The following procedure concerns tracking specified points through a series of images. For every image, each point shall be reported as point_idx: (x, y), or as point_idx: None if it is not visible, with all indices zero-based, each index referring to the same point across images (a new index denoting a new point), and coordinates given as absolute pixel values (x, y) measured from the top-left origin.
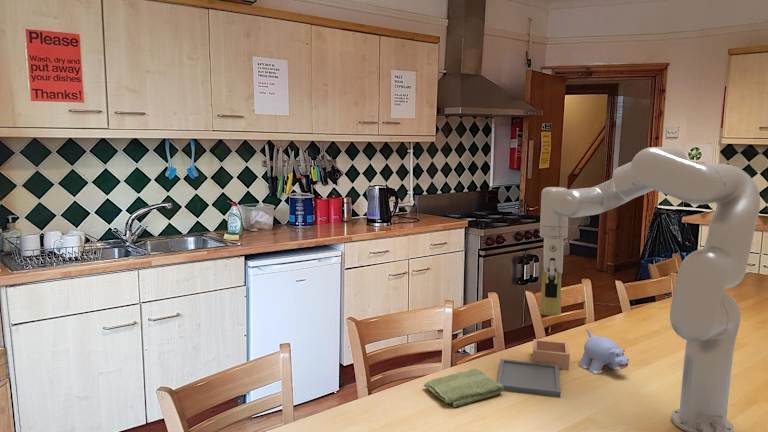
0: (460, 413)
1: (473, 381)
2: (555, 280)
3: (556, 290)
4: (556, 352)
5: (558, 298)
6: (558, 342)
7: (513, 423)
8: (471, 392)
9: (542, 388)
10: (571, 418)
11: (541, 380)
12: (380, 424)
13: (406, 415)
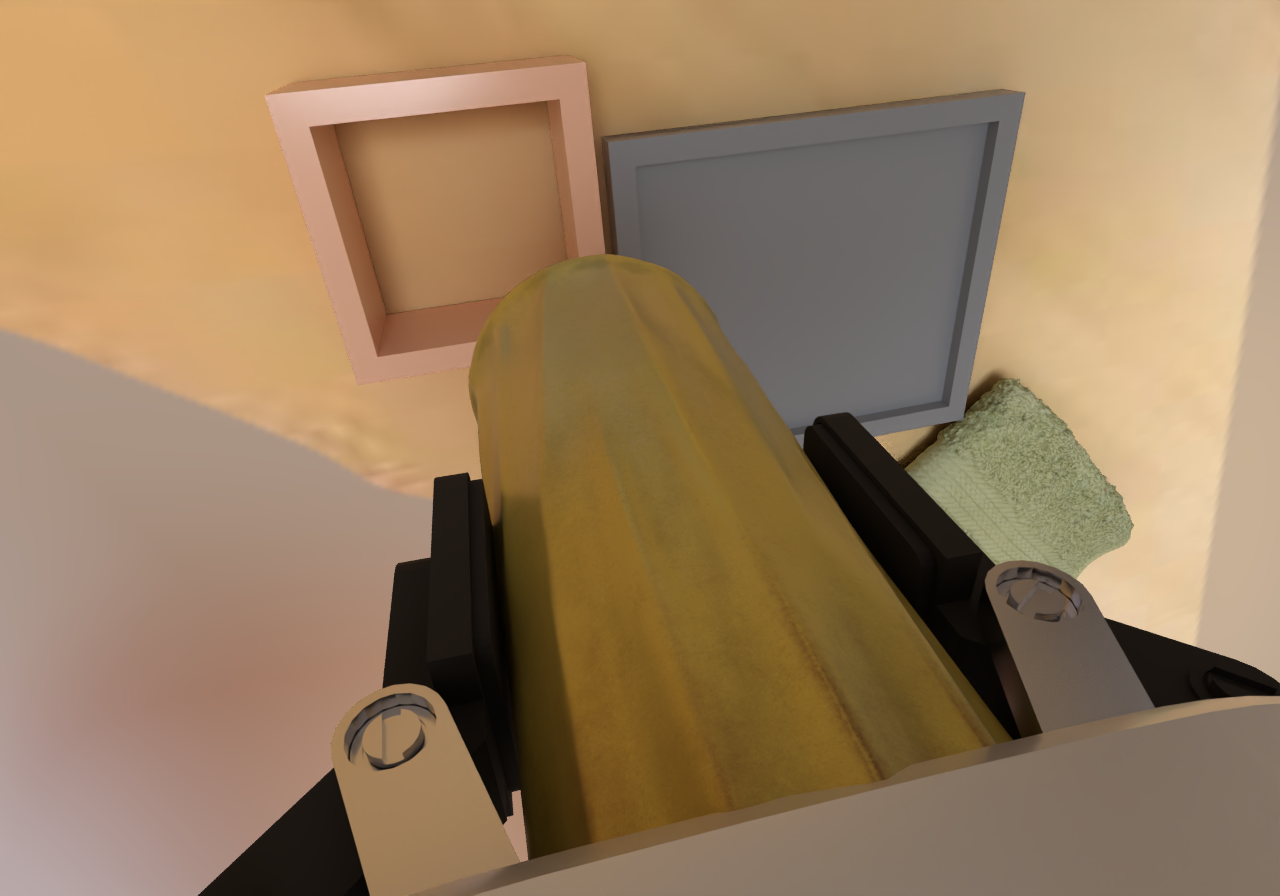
0: (1145, 465)
1: (1023, 507)
2: (1099, 637)
3: (906, 480)
4: (580, 178)
5: (739, 377)
6: (324, 184)
7: (1236, 276)
8: (1101, 483)
9: (990, 202)
10: (1227, 11)
11: (846, 222)
12: (1193, 619)
13: (1148, 590)
